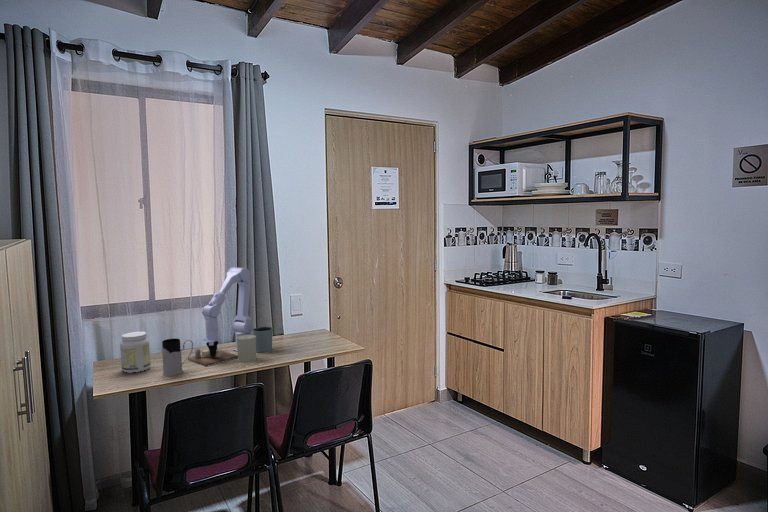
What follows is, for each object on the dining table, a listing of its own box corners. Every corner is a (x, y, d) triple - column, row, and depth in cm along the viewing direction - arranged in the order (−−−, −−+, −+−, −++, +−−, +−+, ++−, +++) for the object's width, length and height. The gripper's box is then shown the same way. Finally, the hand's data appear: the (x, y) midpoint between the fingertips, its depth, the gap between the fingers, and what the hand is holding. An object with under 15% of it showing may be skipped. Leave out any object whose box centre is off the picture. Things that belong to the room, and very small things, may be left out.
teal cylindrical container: (276, 348, 262) (275, 326, 261) (269, 354, 252) (268, 331, 251) (257, 348, 263) (256, 326, 262) (250, 353, 253) (249, 331, 252)
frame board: (220, 351, 258) (220, 342, 257) (238, 357, 247) (238, 347, 246) (187, 360, 244) (187, 349, 244) (205, 366, 233) (205, 355, 233)
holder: (159, 372, 225) (157, 340, 223) (190, 365, 235) (188, 334, 233) (166, 377, 218) (164, 344, 217) (198, 369, 228) (196, 338, 227)
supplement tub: (143, 363, 239) (141, 329, 238) (155, 368, 231) (153, 333, 230) (117, 370, 230) (114, 334, 228) (128, 375, 222) (126, 338, 220)
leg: (202, 357, 243) (202, 351, 243) (203, 356, 245) (203, 350, 245) (222, 356, 244) (221, 350, 244) (223, 355, 246) (222, 349, 246)
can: (237, 363, 237) (236, 338, 236) (237, 358, 246) (236, 334, 245) (257, 361, 240) (256, 337, 239) (256, 356, 248) (255, 332, 247)
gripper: (204, 326, 248) (205, 353, 249) (201, 333, 234) (203, 361, 235) (219, 325, 250) (220, 351, 251) (217, 332, 236) (218, 359, 237)
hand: (213, 356), depth 243 cm, fingers closed, pressing on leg
